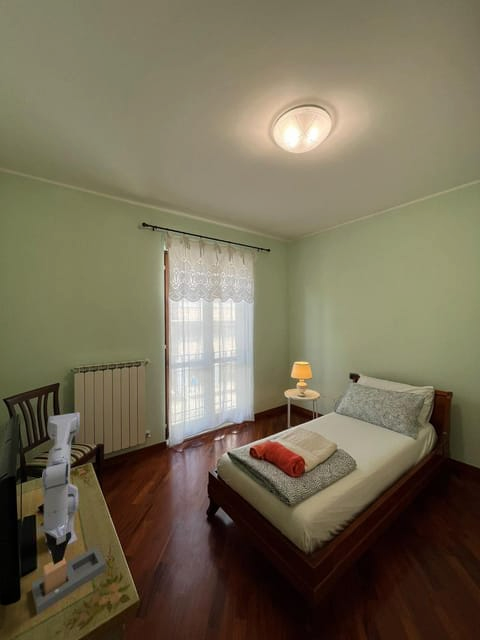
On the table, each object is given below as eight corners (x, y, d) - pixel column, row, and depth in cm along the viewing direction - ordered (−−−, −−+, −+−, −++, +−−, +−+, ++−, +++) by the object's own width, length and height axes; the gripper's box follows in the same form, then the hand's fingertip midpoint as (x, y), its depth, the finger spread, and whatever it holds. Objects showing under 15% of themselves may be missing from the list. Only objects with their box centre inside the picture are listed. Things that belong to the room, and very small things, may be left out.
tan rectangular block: (43, 590, 73) (43, 566, 73) (63, 578, 76) (63, 555, 76) (45, 600, 70) (46, 574, 71) (66, 587, 74) (66, 563, 74)
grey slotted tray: (31, 592, 73) (31, 582, 73) (96, 553, 85) (96, 545, 85) (36, 616, 67) (37, 606, 67) (105, 571, 79) (105, 562, 79)
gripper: (34, 501, 76) (34, 546, 76) (43, 528, 66) (42, 580, 66) (62, 490, 82) (62, 532, 81) (74, 513, 72) (74, 562, 71)
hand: (55, 553), depth 74 cm, fingers open, 7 cm apart
